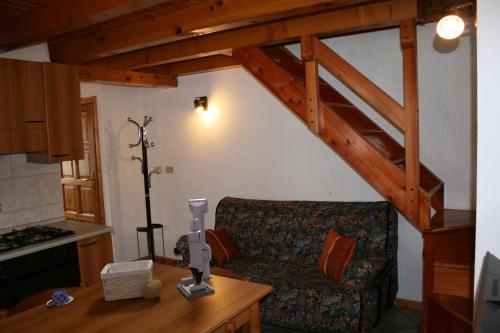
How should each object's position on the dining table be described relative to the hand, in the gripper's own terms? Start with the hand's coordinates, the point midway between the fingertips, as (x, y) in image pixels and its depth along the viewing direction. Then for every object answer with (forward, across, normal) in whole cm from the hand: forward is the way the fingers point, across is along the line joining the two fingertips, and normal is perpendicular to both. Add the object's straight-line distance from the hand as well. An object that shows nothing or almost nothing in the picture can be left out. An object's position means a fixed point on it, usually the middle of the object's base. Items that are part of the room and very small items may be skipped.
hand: (197, 282), depth 199 cm
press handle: (+4, 0, 0) cm, 4 cm away
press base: (+6, -4, 0) cm, 7 cm away
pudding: (+6, -29, -62) cm, 68 cm away
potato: (+6, -7, -21) cm, 23 cm away
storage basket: (+6, -19, -30) cm, 36 cm away
